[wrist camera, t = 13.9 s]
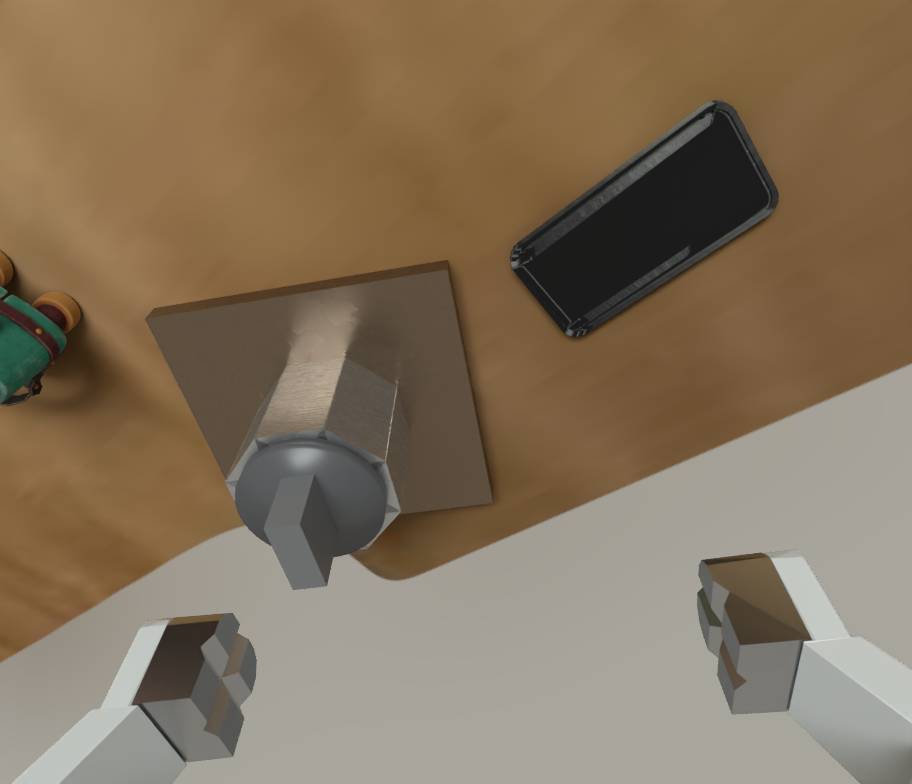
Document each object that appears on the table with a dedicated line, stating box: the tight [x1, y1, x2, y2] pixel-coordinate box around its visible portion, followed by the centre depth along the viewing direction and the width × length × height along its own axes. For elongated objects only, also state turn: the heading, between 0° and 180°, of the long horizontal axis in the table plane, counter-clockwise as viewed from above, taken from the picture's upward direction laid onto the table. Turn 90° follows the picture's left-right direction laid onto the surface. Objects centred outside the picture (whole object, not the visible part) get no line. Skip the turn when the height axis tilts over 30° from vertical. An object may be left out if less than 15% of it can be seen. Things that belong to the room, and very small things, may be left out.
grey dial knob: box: [235, 438, 387, 590], centre depth 38 cm, size 9×9×7 cm
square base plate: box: [145, 260, 493, 549], centre depth 43 cm, size 20×20×10 cm
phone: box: [510, 100, 779, 337], centre depth 39 cm, size 8×1×15 cm
